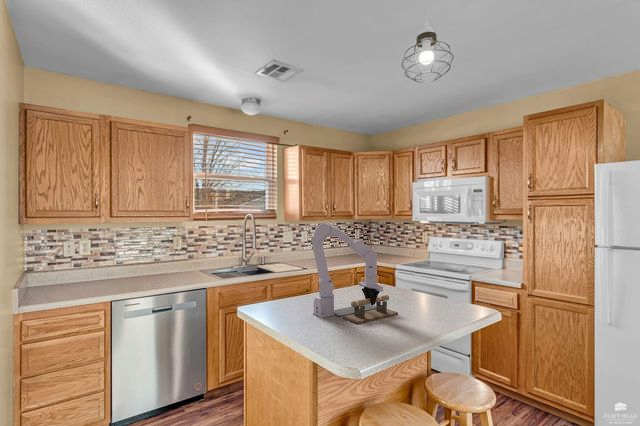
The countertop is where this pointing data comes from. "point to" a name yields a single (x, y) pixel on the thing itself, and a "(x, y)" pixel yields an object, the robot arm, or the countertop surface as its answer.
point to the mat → (352, 310)
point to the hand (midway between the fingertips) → (370, 303)
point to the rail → (367, 301)
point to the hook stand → (370, 313)
